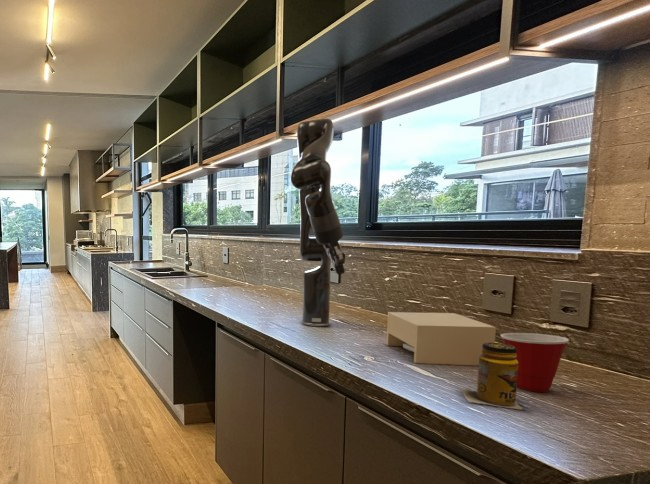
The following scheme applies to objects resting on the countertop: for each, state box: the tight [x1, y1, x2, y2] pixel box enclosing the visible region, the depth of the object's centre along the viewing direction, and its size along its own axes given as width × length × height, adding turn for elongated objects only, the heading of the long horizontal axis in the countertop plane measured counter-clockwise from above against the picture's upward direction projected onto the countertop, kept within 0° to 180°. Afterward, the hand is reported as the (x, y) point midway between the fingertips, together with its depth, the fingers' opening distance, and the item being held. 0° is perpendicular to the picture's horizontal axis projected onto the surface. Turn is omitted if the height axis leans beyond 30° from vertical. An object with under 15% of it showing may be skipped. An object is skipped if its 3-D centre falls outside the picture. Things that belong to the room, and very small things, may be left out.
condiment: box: [459, 342, 523, 410], centre depth 86 cm, size 7×8×12 cm
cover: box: [386, 311, 497, 366], centre depth 117 cm, size 18×18×10 cm
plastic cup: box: [500, 332, 570, 393], centre depth 92 cm, size 11×11×12 cm
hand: (340, 272), depth 129 cm, fingers closed
